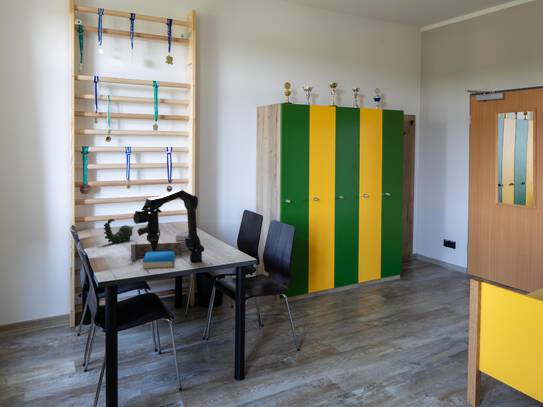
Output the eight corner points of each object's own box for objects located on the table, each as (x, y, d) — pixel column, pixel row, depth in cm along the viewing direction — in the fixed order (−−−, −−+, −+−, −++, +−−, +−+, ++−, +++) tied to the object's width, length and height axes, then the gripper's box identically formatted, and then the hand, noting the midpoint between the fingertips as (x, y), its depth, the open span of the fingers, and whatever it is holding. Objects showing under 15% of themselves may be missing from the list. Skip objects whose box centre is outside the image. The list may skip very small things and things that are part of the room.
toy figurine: (112, 247, 316) (139, 238, 337) (109, 221, 312) (136, 213, 333) (102, 246, 321) (130, 237, 342) (99, 220, 317) (127, 212, 338)
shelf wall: (181, 254, 289) (180, 241, 288) (181, 255, 287) (180, 242, 286) (131, 256, 284) (131, 243, 283) (131, 257, 282) (131, 244, 281)
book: (142, 261, 257) (145, 251, 281) (142, 269, 257) (146, 258, 282) (173, 260, 260) (174, 250, 284) (173, 267, 261) (174, 256, 285)
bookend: (137, 257, 282) (136, 241, 281) (135, 261, 272) (135, 244, 271) (133, 257, 282) (133, 241, 281) (132, 261, 272) (131, 244, 271)
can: (196, 250, 301) (196, 232, 299) (186, 254, 291) (186, 235, 289) (182, 248, 306) (181, 231, 304) (171, 252, 295) (171, 234, 294)
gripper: (139, 219, 256) (140, 246, 258) (136, 225, 238) (137, 254, 240) (159, 218, 258) (160, 245, 260) (158, 224, 240) (159, 253, 242)
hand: (154, 249), depth 250 cm, fingers open, 9 cm apart
